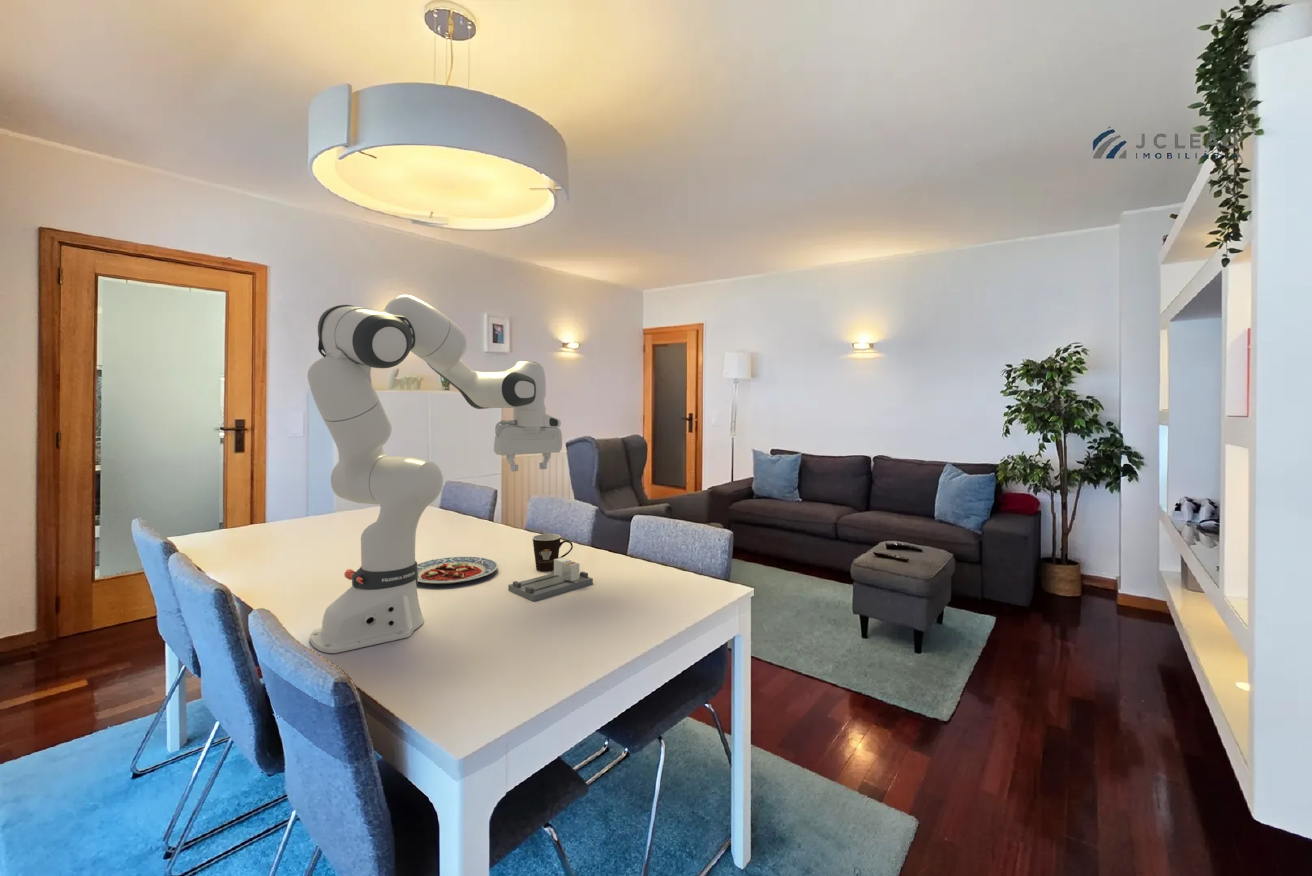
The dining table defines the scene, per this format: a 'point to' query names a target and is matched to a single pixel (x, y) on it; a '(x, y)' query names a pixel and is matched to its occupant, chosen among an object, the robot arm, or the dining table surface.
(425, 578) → the ceramic plate
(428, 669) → the dining table surface
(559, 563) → the grey slider board
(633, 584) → the dining table surface
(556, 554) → the coffee mug
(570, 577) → the block
